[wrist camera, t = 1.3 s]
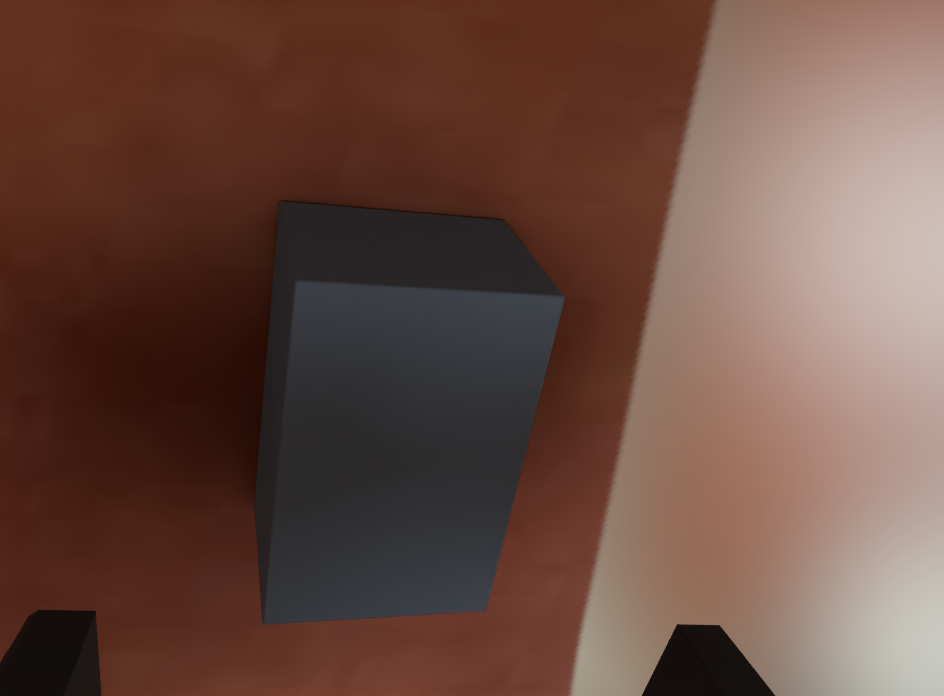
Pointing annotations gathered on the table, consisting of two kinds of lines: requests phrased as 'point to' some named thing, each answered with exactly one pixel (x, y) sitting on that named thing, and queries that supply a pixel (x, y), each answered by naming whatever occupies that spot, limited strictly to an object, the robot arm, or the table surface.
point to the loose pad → (394, 410)
